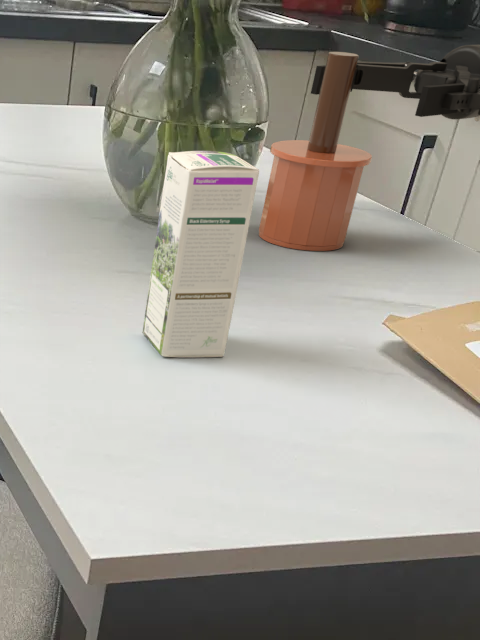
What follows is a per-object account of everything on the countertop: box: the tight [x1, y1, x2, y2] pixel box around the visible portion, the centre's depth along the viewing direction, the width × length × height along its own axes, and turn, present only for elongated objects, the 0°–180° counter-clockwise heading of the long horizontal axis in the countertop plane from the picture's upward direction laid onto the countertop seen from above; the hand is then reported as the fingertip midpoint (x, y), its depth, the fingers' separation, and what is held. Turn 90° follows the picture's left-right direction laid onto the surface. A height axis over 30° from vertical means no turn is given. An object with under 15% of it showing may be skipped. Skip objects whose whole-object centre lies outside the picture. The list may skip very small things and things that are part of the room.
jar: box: [258, 155, 365, 252], centre depth 117 cm, size 9×9×8 cm
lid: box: [269, 51, 373, 168], centre depth 112 cm, size 11×11×10 cm
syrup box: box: [141, 150, 260, 359], centre depth 85 cm, size 6×6×14 cm
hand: (367, 90), depth 114 cm, fingers open, 13 cm apart
